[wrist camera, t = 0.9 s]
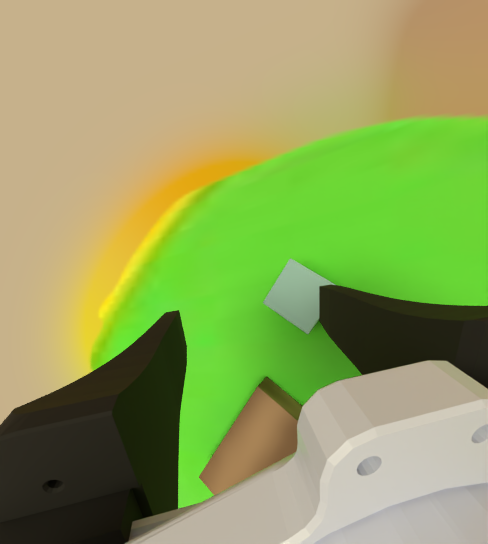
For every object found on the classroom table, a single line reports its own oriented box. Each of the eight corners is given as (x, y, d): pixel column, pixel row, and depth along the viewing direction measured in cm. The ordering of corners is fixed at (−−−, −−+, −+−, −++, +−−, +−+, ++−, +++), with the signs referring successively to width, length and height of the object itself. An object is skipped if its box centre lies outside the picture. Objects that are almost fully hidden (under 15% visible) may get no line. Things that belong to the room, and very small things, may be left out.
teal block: (339, 288, 24) (339, 287, 19) (315, 324, 25) (308, 334, 19) (301, 265, 26) (290, 258, 20) (279, 300, 26) (262, 302, 21)
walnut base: (373, 465, 22) (377, 490, 19) (302, 556, 23) (297, 591, 21) (266, 376, 26) (257, 386, 23) (212, 458, 28) (198, 477, 25)
